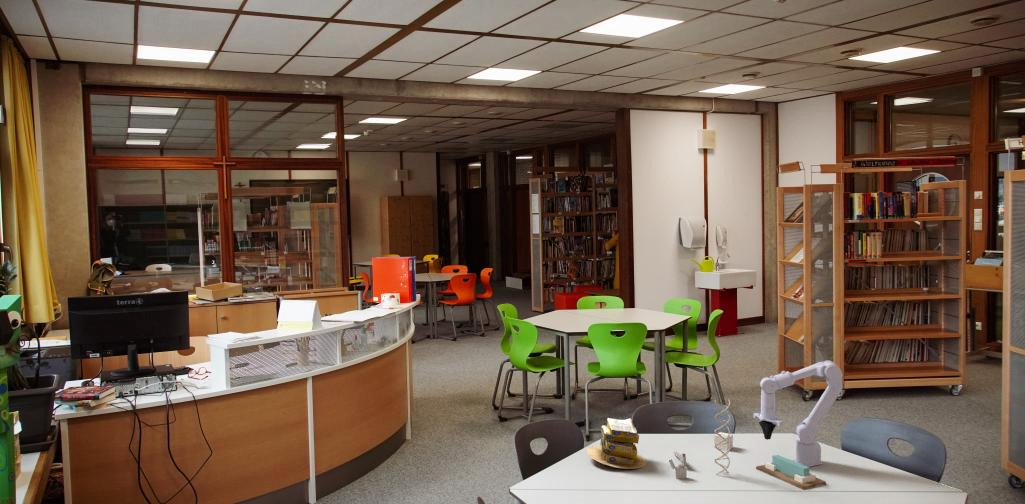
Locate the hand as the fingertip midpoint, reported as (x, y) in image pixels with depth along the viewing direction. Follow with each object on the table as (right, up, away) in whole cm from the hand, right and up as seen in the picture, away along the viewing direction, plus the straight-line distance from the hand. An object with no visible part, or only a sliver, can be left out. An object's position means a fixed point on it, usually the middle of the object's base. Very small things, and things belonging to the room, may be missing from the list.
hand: (767, 438), depth 295 cm
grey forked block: (-42, -11, -18) cm, 47 cm away
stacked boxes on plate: (-63, -10, +2) cm, 64 cm away
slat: (+3, -9, -17) cm, 20 cm away
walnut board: (+3, -10, -17) cm, 20 cm away
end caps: (+3, -10, -17) cm, 20 cm away
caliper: (-37, -10, +2) cm, 38 cm away
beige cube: (-13, -9, +18) cm, 24 cm away
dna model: (-23, -11, -13) cm, 29 cm away
